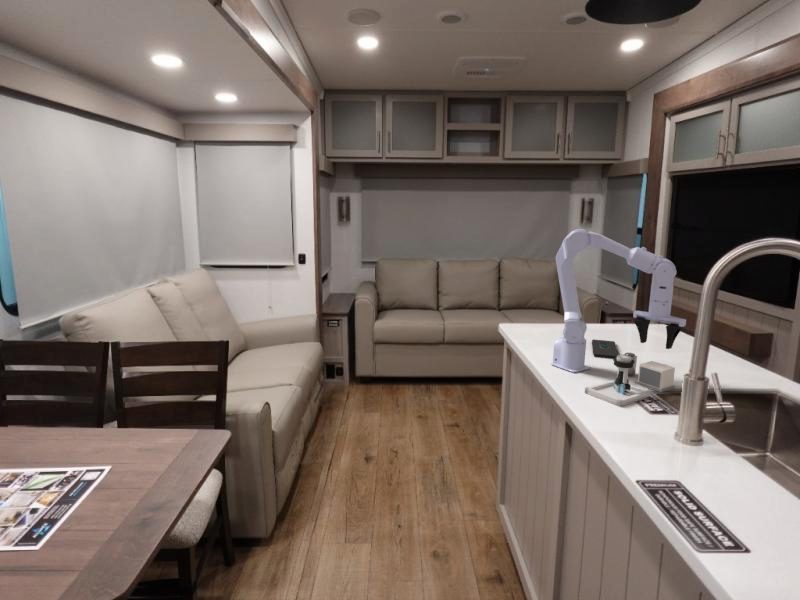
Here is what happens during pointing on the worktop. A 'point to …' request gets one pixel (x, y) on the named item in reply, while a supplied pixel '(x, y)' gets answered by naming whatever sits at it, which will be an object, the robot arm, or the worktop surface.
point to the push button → (622, 373)
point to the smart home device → (604, 349)
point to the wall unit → (656, 376)
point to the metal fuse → (632, 370)
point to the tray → (616, 393)
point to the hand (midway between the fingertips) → (655, 345)
